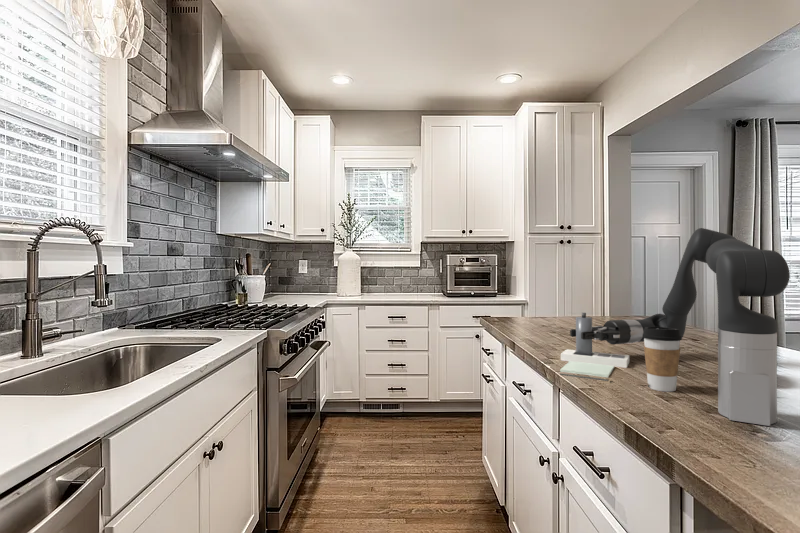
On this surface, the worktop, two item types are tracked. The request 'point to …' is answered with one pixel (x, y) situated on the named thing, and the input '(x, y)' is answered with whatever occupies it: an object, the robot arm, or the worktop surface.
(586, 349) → the grey bottle
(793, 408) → the worktop surface
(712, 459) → the worktop surface
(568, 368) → the pad
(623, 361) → the power strip
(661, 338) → the coffee cup
